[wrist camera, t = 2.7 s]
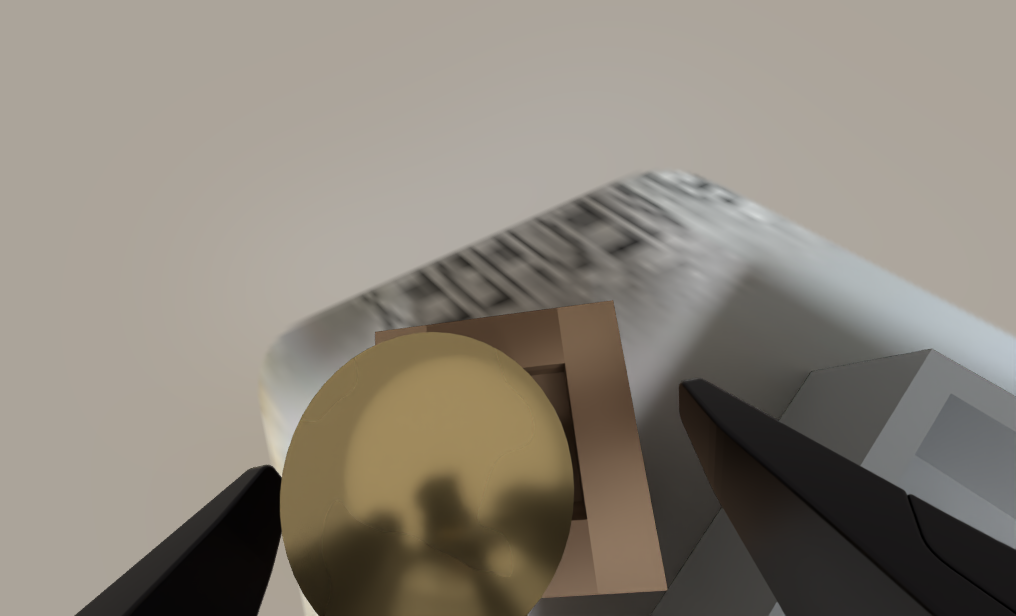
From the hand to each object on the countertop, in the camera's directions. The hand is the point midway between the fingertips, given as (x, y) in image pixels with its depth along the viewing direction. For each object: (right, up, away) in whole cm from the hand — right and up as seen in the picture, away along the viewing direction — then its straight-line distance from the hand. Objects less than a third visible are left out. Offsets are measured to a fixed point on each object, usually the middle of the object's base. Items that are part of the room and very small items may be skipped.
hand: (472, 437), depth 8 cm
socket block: (+1, -2, +7) cm, 8 cm away
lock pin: (+1, -2, +6) cm, 6 cm away
